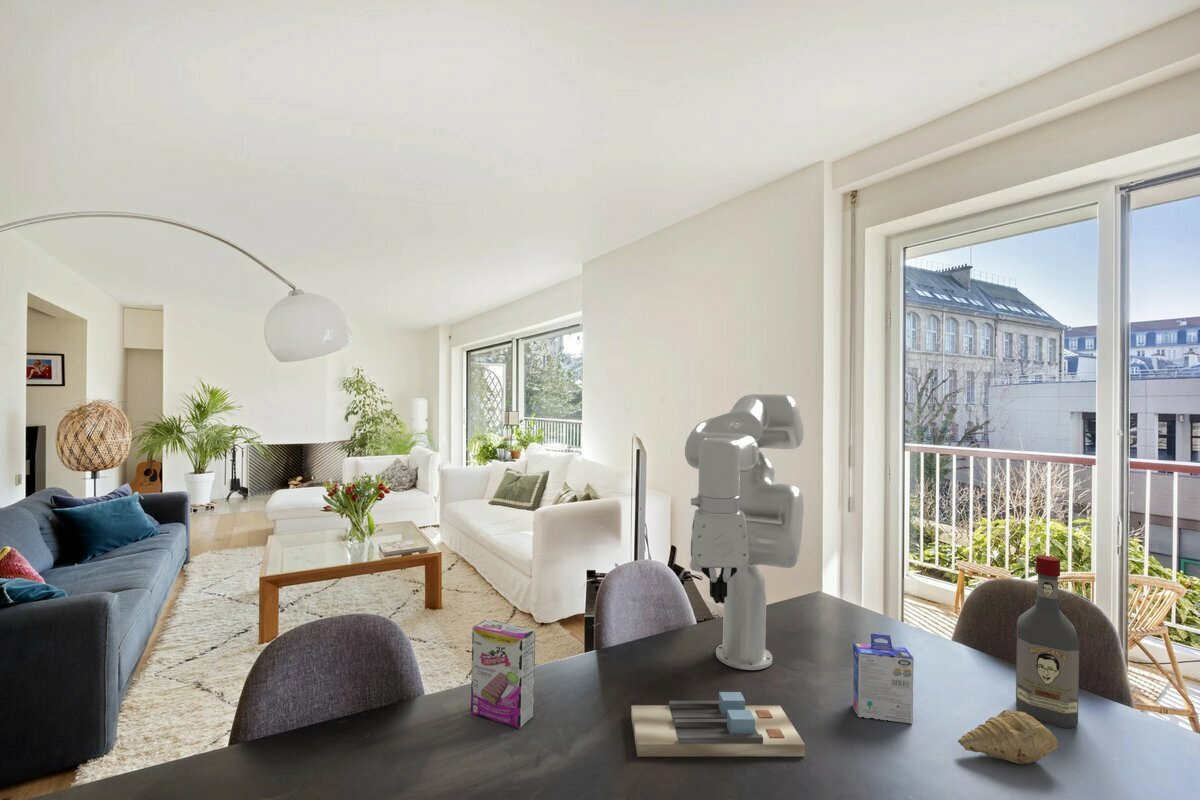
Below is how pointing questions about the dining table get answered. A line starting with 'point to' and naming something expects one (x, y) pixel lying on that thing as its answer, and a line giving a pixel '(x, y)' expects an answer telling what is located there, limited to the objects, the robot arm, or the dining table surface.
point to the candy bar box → (503, 672)
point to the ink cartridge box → (883, 681)
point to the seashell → (1011, 738)
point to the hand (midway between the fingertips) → (718, 600)
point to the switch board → (711, 731)
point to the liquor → (1047, 655)
